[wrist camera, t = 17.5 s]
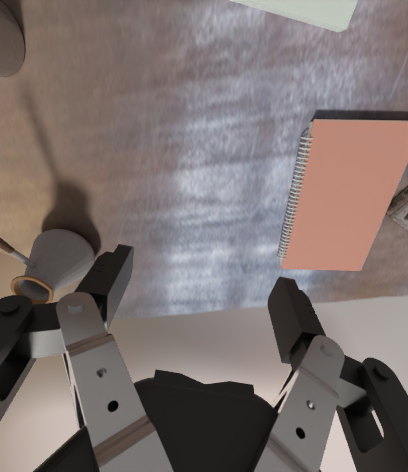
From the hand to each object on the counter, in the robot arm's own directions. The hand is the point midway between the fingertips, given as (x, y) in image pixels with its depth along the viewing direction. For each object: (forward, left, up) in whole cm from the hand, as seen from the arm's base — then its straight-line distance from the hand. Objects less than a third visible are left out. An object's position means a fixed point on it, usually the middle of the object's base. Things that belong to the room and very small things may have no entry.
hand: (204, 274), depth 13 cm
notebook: (+23, -4, -31) cm, 39 cm away
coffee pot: (-25, -20, -30) cm, 44 cm away
